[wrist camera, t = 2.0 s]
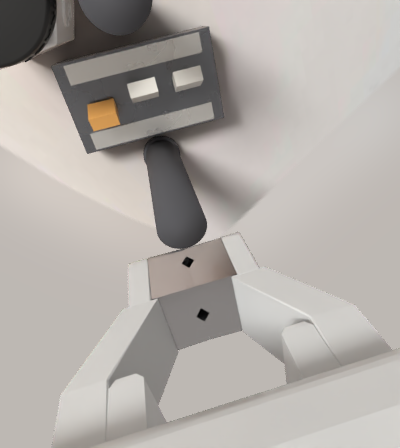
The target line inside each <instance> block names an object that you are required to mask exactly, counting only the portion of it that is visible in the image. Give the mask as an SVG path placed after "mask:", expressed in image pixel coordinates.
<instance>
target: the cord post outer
mask: <svg viewBox="0 0 400 448" xmlns="http://www.w3.org/2000/svg"><path fill="white" fill-rule="evenodd" d="M143 154H144V160H145V163H146V165H147V169H148V176H149V182H150V189H151V196H152V202H153V209H154V216H155V222H156V229H157V234H158V237H159V238H160V240H161V241H162V242H163V243H164V244H165V245H167V246H169V247H172V248H178V249H182V248H188V247H191V246H193V245H195V244H196V243H198V242H199V241H200V240H201V239H202V238H203V236H204V235H205V232H206V229H207V221H206V218H205V215H204V213H203V211H202V208H201V206H200V203H199V201H198V198H197V196H196V194H195V191H194V189H193V186H192V184H191V181H190V179H189V177H188V174H187V172H186V169H185V167H184V164H183V162H182V160H181V157H180V150H179V148H178V145H177V144H176V142H175V141H174V140H172V139H171V138H169V137H166V136H157V137H154V138H152V139H151V140H149V141H148V142H147V144H146V145H145V148H144V153H143Z"/></svg>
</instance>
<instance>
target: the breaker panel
mask: <svg viewBox="0 0 400 448" xmlns="http://www.w3.org/2000/svg"><path fill="white" fill-rule="evenodd" d="M199 65H200V67H201V71H202V75H203V79H204V80H203V82H202V84H201V86H197V87H194V88H190V89H186V90H182V91H178V92H175V88H174V84H173V80H172V75H173V72H175V71H179V70H183V69H187V68H191V67H195V66H199ZM51 67H52V70H53V72H54V75H55V77H56V80H57V82H58V84H59V87H60V89H61V92H62V94H63V96H64V99H65V101H66V104H67V106H68V109H69V111H70V113H71V116H72V118H73V121H74V123H75V125H76V128H77V130H78V133H79V135H80V137H81V140H82V142H83V145H84V147H85V150H86V152H87V154H89V153H93V152H96V151H100V150H104V149H108V148H111V147H115V146H119V145H123V144H126V143H130V142H134V141H138V140H141V139H145V138H149V137H153V136H156V135H160V134H164V133H167V132H171V131H175V130H179V129H182V128H186V127H190V126H194V125H197V124H201V123H205V122H209V121H212V120H216V119H220V118H224V115H223V109H222V103H221V97H220V91H219V85H218V79H217V73H216V67H215V61H214V54H213V48H212V42H211V36H210V30H209V27H206V26H202V27H198V28H194V29H190V30H186V31H182V32H178V33H174V34H170V35H166V36H162V37H158V38H154V39H150V40H146V41H142V42H138V43H134V44H130V45H126V46H122V47H118V48H114V49H110V50H106V51H102V52H98V53H94V54H90V55H86V56H82V57H78V58H74V59H70V60H67V61H63V62H59V63H56V64H54V65H52V66H51ZM152 77H155V81H156V84H157V88H158V92H159V97H155V98H151V99H148V100H144V101H140V102H136V103H133V101H132V100H131V97H130V93H129V90H128V87H127V84H129V83H133V82H137V81H140V80H144V79H148V78H152ZM112 98H113V99H114V101H115V104H116V107H117V109H118V115H119V120H120V125H116V126H113V127H109V128H105V129H101V130H97V131H93V129H92V127H91V124H90V122H89V120H88V108H87V105H89V104H92V103H96V102H100V101H104V100H108V99H112Z"/></svg>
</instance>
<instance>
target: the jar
mask: <svg viewBox="0 0 400 448" xmlns="http://www.w3.org/2000/svg"><path fill="white" fill-rule="evenodd" d="M72 40H74V0H0V70H1V69H4V68H7V67H10V66H13V65H16V64H19V63H21V62H24V61H25V62H27V61H29V60H31V59H32V58H34V57H36V56H38V55H41V54H43V53H45V52H47V51H50V50H52V49H54V48H57V47H59V46H61V45H63V44H66V43H68V42H70V41H72Z"/></svg>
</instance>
